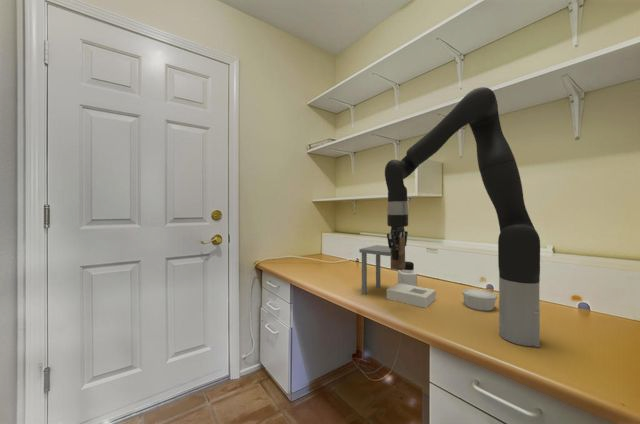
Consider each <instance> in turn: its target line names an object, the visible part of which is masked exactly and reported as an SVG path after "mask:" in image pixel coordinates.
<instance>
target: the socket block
mask: <svg viewBox="0 0 640 424" xmlns="http://www.w3.org/2000/svg"><path fill="white" fill-rule="evenodd" d="M436 296H437V293H436V289H432V288H426V287H421V286H418V285H417V286H412V285H407V284H402V283H398V282H397V283H396V284H394V285H391V286H390V287H388V288H387V289H386V300H389V301H390V300H391V301H395V302H399V303H403V304H406V305H407V304H408V305H411V306H415V307H418V308H419V307H420V308H423V309H427V308H428V307H430V305H432V304H433V303H434V302H435V301H436V298H437V297H436Z"/></svg>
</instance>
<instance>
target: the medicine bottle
mask: <svg viewBox="0 0 640 424" xmlns="http://www.w3.org/2000/svg"><path fill="white" fill-rule="evenodd" d="M414 266H415V263H414V262H412V261H408V260H407V261H406V260H405V269H403V270H401V271H400V270H397V284H398V283H402V284H407V285H412V286H417V287H418V274H417V272H415V269H414V268H415V267H414Z"/></svg>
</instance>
